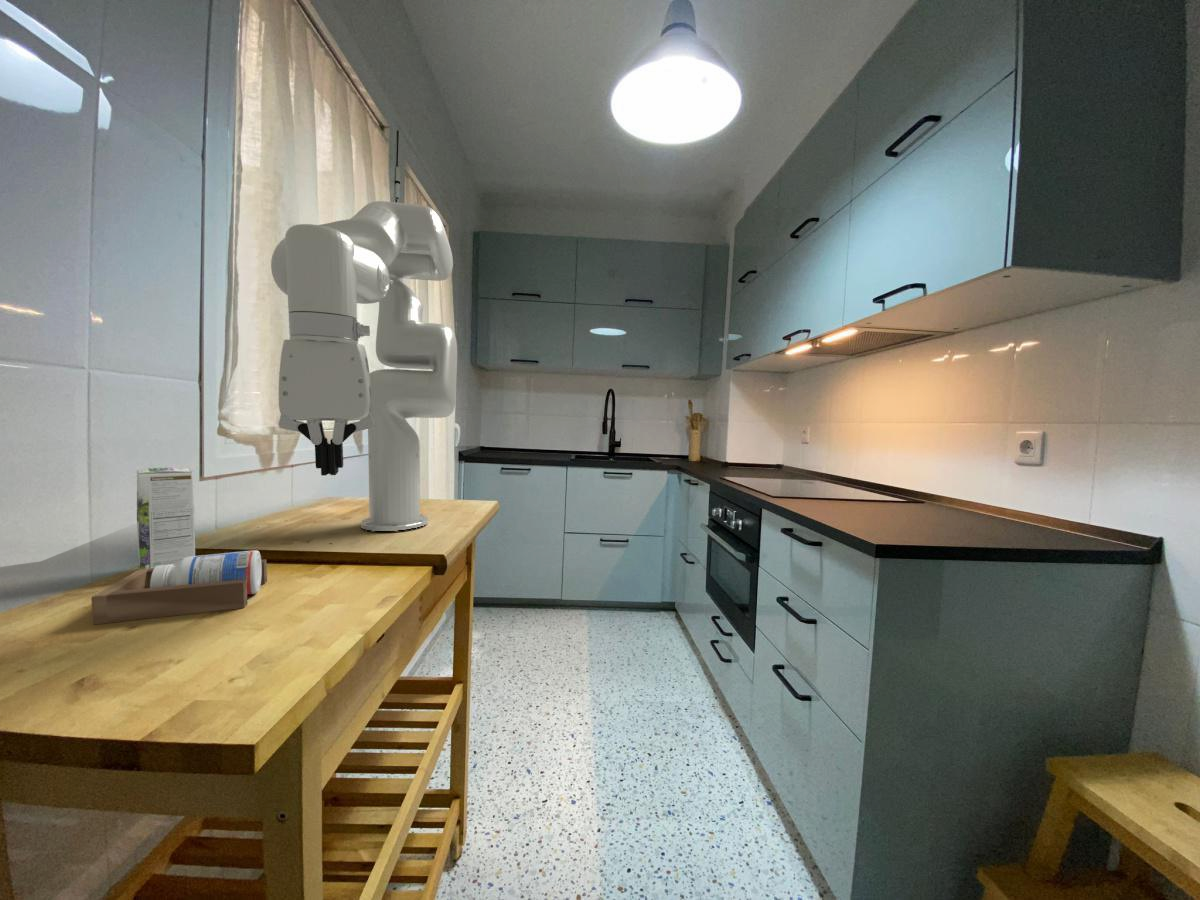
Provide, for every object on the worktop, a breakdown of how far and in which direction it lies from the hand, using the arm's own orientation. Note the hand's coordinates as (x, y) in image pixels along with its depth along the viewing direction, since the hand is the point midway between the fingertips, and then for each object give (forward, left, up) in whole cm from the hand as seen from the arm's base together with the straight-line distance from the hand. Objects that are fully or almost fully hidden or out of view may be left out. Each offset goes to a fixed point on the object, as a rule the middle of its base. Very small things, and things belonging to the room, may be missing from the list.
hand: (330, 473), depth 62 cm
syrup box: (-13, -22, -15) cm, 30 cm away
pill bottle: (+1, -8, -12) cm, 14 cm away
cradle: (+1, -14, -15) cm, 21 cm away
